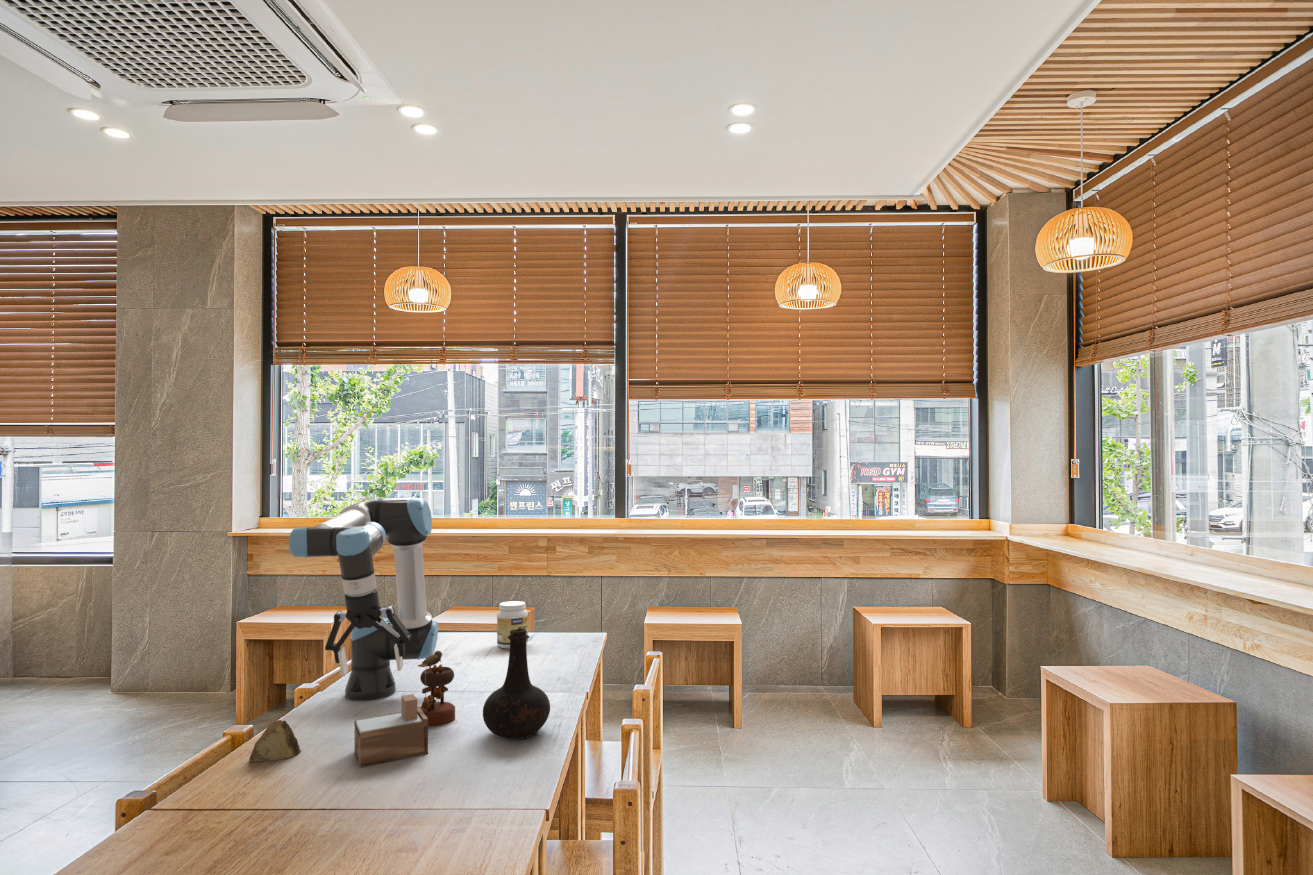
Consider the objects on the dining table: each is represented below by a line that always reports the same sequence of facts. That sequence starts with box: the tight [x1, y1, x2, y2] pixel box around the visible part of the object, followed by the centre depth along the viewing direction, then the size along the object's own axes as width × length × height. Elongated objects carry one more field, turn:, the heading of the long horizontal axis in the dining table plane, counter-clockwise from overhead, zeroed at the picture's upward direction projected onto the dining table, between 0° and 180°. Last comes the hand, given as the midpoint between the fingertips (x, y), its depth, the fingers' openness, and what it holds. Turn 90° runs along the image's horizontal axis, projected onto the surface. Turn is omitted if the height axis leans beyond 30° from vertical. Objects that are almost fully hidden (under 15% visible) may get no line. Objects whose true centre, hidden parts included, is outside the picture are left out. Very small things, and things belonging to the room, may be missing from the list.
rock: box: [248, 719, 302, 763], centre depth 184 cm, size 11×9×10 cm
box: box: [353, 705, 429, 768], centre depth 186 cm, size 11×16×9 cm
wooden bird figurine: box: [417, 650, 456, 727], centre depth 211 cm, size 15×11×20 cm
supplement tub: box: [496, 600, 529, 650], centre depth 294 cm, size 12×12×17 cm
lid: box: [356, 693, 422, 733], centre depth 186 cm, size 9×15×6 cm, turn 120°
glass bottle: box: [482, 629, 551, 740], centre depth 199 cm, size 18×18×28 cm
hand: (372, 671), depth 183 cm, fingers open, 13 cm apart
